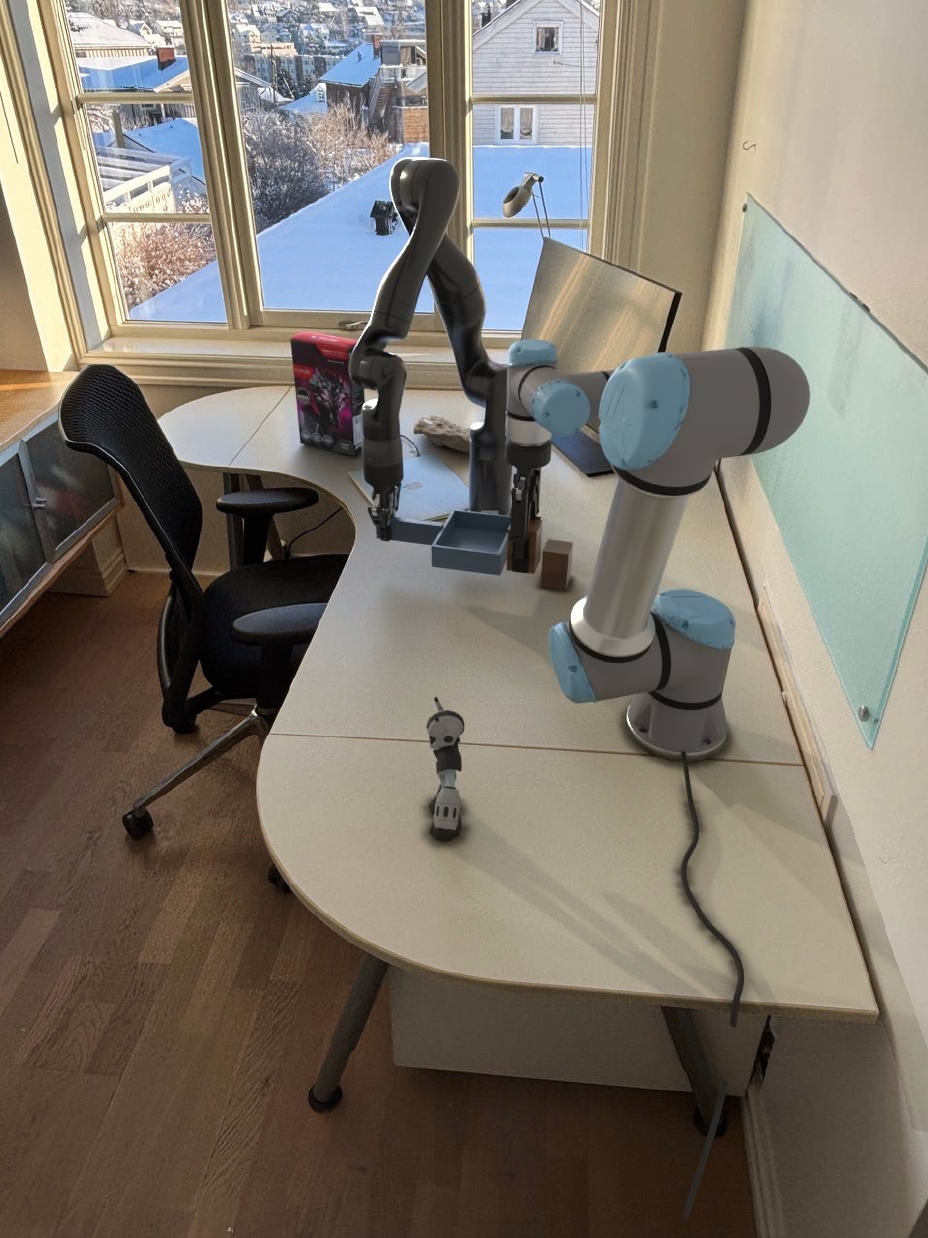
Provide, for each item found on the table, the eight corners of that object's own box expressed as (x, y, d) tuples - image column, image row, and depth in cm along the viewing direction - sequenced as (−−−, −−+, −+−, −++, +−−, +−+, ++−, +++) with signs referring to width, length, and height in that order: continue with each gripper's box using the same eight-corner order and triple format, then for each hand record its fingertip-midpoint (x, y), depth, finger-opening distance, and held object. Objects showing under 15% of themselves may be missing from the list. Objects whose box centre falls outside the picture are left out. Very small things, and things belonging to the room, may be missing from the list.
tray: (500, 575, 171) (500, 552, 168) (364, 557, 177) (363, 534, 174) (517, 536, 183) (517, 514, 180) (390, 521, 189) (389, 499, 186)
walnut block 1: (534, 574, 160) (536, 533, 155) (506, 570, 161) (507, 529, 157) (540, 560, 164) (542, 520, 159) (512, 556, 165) (514, 516, 161)
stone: (397, 439, 228) (402, 416, 226) (416, 430, 242) (421, 408, 239) (477, 464, 225) (483, 440, 222) (491, 454, 238) (497, 431, 236)
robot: (467, 874, 119) (468, 759, 108) (429, 876, 119) (427, 760, 108) (460, 769, 135) (460, 659, 124) (426, 770, 135) (424, 660, 124)
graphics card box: (297, 444, 233) (287, 336, 218) (313, 435, 239) (304, 329, 223) (354, 457, 227) (347, 347, 212) (369, 447, 232) (364, 339, 217)
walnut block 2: (565, 590, 177) (568, 554, 172) (540, 587, 178) (542, 551, 173) (570, 577, 181) (573, 542, 176) (545, 574, 182) (547, 538, 177)
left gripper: (389, 474, 166) (394, 557, 176) (412, 444, 177) (415, 523, 187) (350, 469, 168) (357, 552, 177) (375, 440, 178) (380, 519, 188)
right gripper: (540, 462, 141) (533, 592, 154) (561, 421, 156) (553, 543, 169) (493, 457, 143) (490, 586, 156) (518, 417, 158) (513, 538, 170)
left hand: (387, 537), depth 182 cm, fingers closed on tray, 1 cm apart
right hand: (523, 563), depth 162 cm, fingers closed on walnut block 1, 5 cm apart
